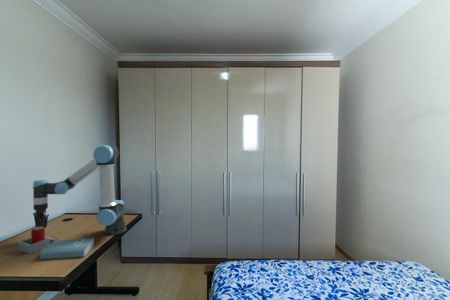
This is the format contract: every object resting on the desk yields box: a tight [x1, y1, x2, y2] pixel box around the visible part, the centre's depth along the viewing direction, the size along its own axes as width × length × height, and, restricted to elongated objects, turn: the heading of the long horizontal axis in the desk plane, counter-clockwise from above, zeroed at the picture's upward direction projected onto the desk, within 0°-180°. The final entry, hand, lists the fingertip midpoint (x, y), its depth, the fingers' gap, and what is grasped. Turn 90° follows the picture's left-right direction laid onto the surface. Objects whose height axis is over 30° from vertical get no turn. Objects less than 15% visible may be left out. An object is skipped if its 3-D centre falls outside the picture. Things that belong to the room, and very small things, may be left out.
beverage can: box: [30, 226, 46, 244], centre depth 149 cm, size 7×7×12 cm
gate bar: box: [45, 236, 54, 244], centre depth 156 cm, size 12×2×4 cm, turn 68°
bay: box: [17, 237, 59, 255], centre depth 149 cm, size 14×15×5 cm
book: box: [39, 237, 95, 260], centre depth 143 cm, size 23×16×5 cm
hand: (41, 238), depth 158 cm, fingers closed
